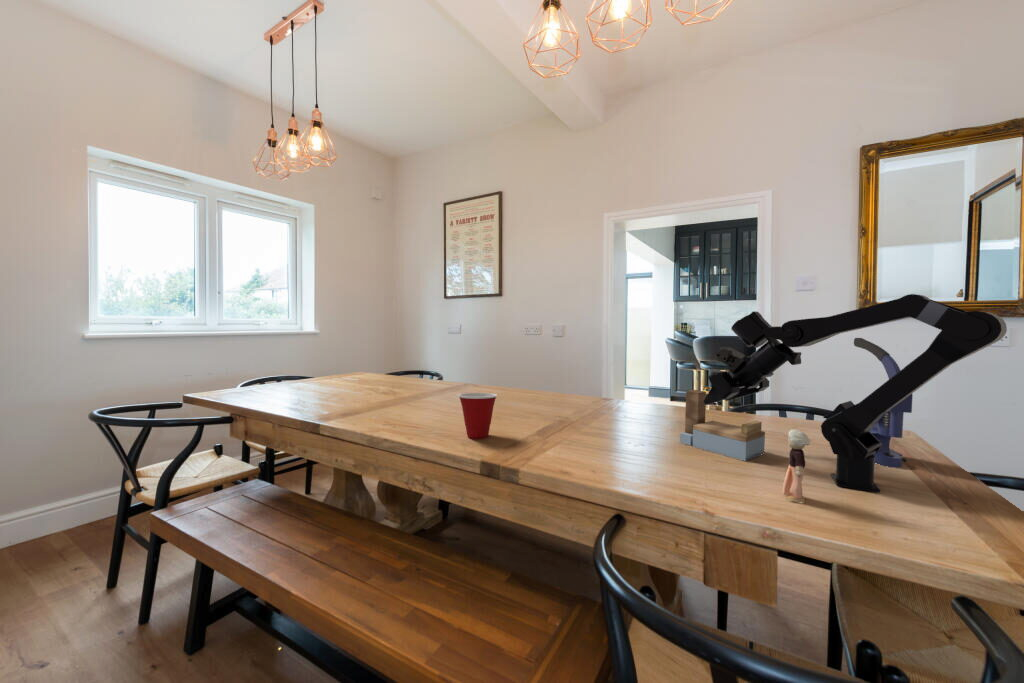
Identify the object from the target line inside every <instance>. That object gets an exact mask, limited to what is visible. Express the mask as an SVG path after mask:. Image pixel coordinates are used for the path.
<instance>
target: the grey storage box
mask: <svg viewBox="0 0 1024 683" xmlns="http://www.w3.org/2000/svg"><path fill="white" fill-rule="evenodd" d="M765 442H766V435H765V436H763V437H760V438H757V439H754V440H751V441H747V442H744V441H740V440H736V439H732V438H728V437H723V436H719V435H715V434H711V433H707V432H703V431H699V430H695V429H693V435H692V434H688V433H685V431H684V432H679V443H680V444H684V445H686V444H687V445H688V446H690V445H691V446H692V447H694V448H697V449H701V450H703V449H704V451H707V450H708V451H707V452H711V453H714V452H715V453H714V454H718V453H719V454H718V455H721V454H722V456H725V455H726V456H725V457H728V456H729V458H732V457H733V459H735V458H737V459H736V460H739V459H740V461H742V460H744V461H743V462H747V461H750V460H752V459H751V458H753V459H755V458H757V457H756V456H758V455H761V454H763V453H764V454H765V447H766V446H765V445H766V444H765ZM687 445H686V446H687ZM764 454H763V455H764ZM761 456H762V455H761ZM754 457H755V458H754ZM758 457H759V456H758ZM749 459H750V460H749ZM746 460H747V461H746Z"/></svg>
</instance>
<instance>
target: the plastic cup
mask: <svg viewBox="0 0 1024 683" xmlns="http://www.w3.org/2000/svg"><path fill="white" fill-rule="evenodd" d="M457 397H458V398H459V400H460V403H461V408H462V413H463V414H462V415H463V421H464V426H465V430H466V431H465V432H466V435H467V438H469V439H472V440H482V439H486V438H488V437H489V434H490V429H491V428H490V427H491V425H492V419H493V418H492V417H493V411H494V407H495V403H496V402H495V401H496V399H497V397H498V394H497V393H489V392H470V393H469V392H468V393H460V394H458V395H457Z"/></svg>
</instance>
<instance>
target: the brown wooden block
mask: <svg viewBox="0 0 1024 683" xmlns="http://www.w3.org/2000/svg"><path fill="white" fill-rule="evenodd" d="M706 396H707V391H704V390H698V389H689V390H685V412H684V413H685V417H684V418H685V419H684V420H685V422H684V433H688V434H692V435H693V425H696V424H701V423H705V422H706V408H707V407H706V406H707V405H705V403H704V402H703V401H704V399H705V398H706Z"/></svg>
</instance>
